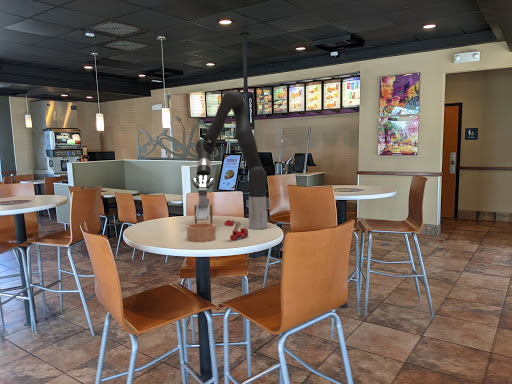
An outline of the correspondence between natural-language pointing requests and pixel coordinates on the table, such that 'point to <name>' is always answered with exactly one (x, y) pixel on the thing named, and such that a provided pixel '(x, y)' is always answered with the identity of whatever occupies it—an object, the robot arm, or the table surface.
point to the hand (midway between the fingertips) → (202, 194)
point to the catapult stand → (210, 214)
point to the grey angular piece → (202, 205)
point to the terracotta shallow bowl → (201, 232)
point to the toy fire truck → (235, 232)
